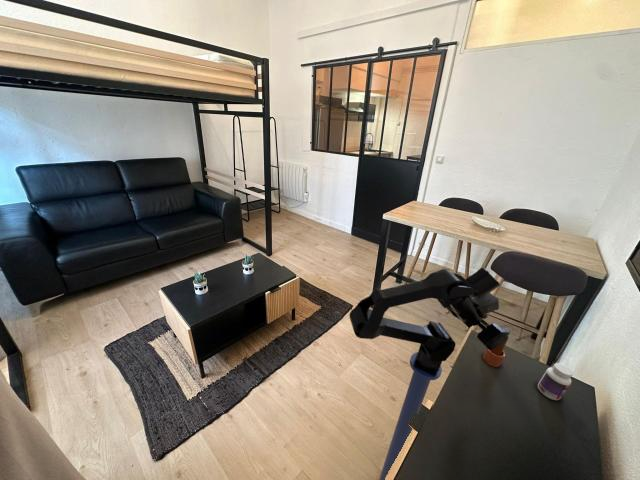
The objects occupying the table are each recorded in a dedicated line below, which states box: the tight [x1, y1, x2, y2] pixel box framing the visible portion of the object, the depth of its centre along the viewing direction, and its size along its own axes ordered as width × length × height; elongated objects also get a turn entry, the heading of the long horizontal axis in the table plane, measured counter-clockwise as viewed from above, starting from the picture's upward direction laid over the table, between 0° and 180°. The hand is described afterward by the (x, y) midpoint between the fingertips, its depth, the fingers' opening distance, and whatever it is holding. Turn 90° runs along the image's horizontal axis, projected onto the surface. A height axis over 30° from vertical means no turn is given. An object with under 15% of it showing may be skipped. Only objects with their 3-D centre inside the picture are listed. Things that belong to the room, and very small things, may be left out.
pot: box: [482, 347, 506, 368], centre depth 83 cm, size 5×5×4 cm
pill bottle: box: [537, 362, 574, 401], centre depth 73 cm, size 5×5×10 cm
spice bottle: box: [490, 326, 511, 356], centre depth 81 cm, size 3×3×13 cm
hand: (483, 333), depth 77 cm, fingers open, 9 cm apart
